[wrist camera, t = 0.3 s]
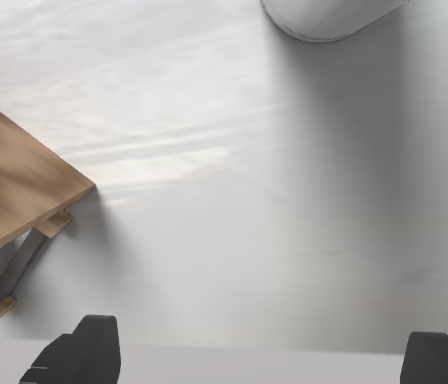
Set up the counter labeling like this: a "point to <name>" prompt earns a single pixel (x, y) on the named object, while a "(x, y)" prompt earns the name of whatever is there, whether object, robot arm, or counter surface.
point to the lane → (31, 198)
